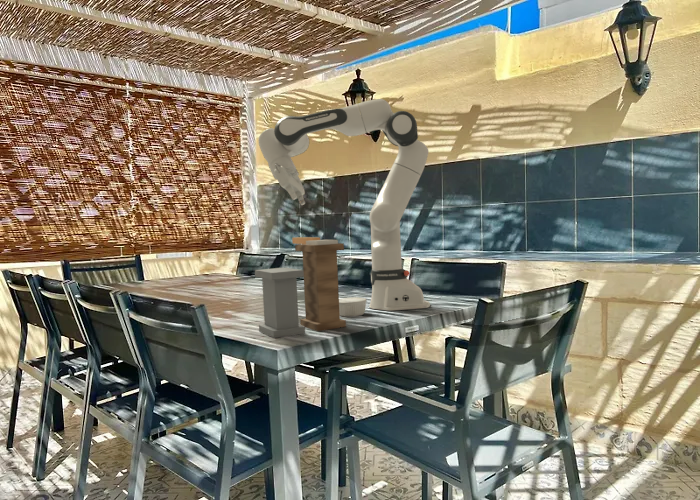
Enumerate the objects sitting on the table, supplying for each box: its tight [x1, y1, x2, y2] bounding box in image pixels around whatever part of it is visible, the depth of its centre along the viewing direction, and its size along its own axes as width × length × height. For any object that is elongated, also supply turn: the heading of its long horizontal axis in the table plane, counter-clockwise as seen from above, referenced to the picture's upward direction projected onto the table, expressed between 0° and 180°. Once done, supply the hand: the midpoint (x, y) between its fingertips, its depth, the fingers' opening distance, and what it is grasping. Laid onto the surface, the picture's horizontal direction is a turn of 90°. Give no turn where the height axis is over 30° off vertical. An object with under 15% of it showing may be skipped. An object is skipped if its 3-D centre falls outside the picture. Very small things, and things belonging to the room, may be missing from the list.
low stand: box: [254, 266, 306, 339], centre depth 164 cm, size 14×10×19 cm
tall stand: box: [294, 242, 347, 332], centre depth 171 cm, size 14×10×26 cm
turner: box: [291, 236, 339, 245], centre depth 175 cm, size 23×7×2 cm, turn 30°
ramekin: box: [339, 296, 368, 318], centre depth 191 cm, size 11×11×5 cm
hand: (299, 201), depth 197 cm, fingers open, 8 cm apart
